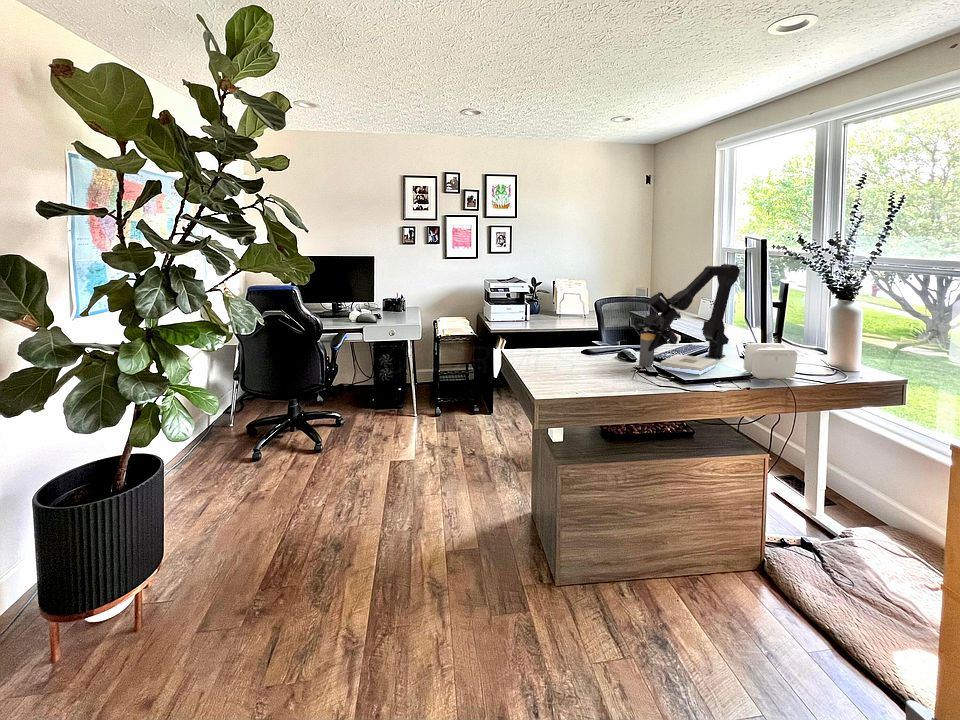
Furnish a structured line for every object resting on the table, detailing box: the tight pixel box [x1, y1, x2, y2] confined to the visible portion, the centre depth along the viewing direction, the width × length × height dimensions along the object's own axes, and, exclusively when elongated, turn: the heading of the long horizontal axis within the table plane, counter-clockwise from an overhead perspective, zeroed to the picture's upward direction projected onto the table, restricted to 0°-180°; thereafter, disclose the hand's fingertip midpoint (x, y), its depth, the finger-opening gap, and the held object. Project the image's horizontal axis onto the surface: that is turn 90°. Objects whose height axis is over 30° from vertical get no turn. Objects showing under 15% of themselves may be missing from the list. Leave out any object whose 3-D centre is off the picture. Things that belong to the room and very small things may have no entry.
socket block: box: [660, 353, 717, 371], centre depth 225 cm, size 16×16×3 cm
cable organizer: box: [743, 342, 798, 380], centre depth 211 cm, size 15×11×12 cm
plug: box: [638, 333, 655, 368], centre depth 229 cm, size 4×4×13 cm
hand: (644, 350), depth 228 cm, fingers closed on plug, 4 cm apart
